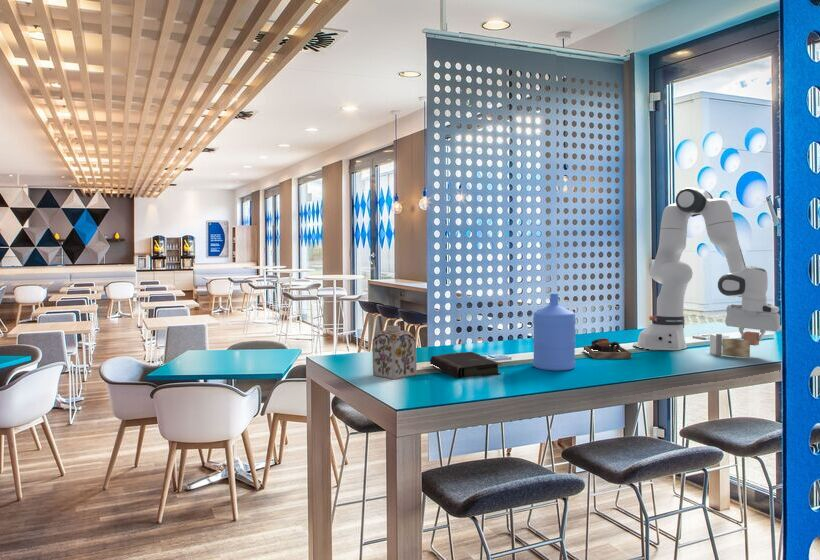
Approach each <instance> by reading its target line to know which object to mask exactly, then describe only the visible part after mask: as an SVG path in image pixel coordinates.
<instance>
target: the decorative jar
mask: <svg viewBox="0 0 820 560" xmlns="http://www.w3.org/2000/svg"><path fill="white" fill-rule="evenodd" d="M417 362H418V361H417V339H416V337H415V336H414V335H413V334H412V333H411V331H408V330H403V329H401V325H388V326H387V329H386V330H381V331H379V332H378V333H376V335H375V336H374V337H373V338H372V375H373V376H376V377H379V378H384V379H389V380H393V381H395V380H396V381H397V380H399V379H404V378H409V377H413V376H416V375H417V369H418V368H417Z"/></svg>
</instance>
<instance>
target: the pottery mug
mask: <svg viewBox="0 0 820 560" xmlns="http://www.w3.org/2000/svg"><path fill="white" fill-rule="evenodd" d="M590 346H591V348H592V349H593V350H598V351H600V352H617V351H618V350H619V349H620V346H621V345H620V343H619V342H618V341H611V342H610V340H609V339H608V338H603V337H602V338H598V339H594V340H592V341H591V345H590ZM614 346H617V347H616V349H614ZM591 348H590V349H591Z"/></svg>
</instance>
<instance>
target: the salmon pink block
mask: <svg viewBox="0 0 820 560" xmlns="http://www.w3.org/2000/svg"><path fill="white" fill-rule="evenodd" d="M743 332H744V339H743V340H750V346H755V347H756V346H759V345H760V341H757V336H760V334H761V333H760V331H759V332H756V331H743Z"/></svg>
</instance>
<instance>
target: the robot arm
mask: <svg viewBox="0 0 820 560" xmlns="http://www.w3.org/2000/svg"><path fill="white" fill-rule="evenodd" d="M732 211H733V210H732V209H731V206H730V204H729V202H728V201H727V200H726V199H725V198H713V195H712V194H711V193H710V192H708V191H707V190H704V189H702V188H697V187H696V188H695V187H686V188H683V189H681V190H680V191H678V193H677V195H676V196H675V203H672V204H669V205H667V206H665V207H664V209H663V211H662V216H661V221H660V230H659V241H658V242H659V243H658V248H657V252H656V255H655V258H654V261H653V263H652V265H651V266H650V268H649V275H650V277H651V279H653V281H655V282H657V283H659V284H662V285H661V288H660V292H659V294H658V296H657V297H656V314H655V315H654V316H652V315H649V316H648V319H649V321H651V322H652V323H651V324H650V325H649V326H646V328H644V329H643V330H642V331H640V333H639V335H638V340H637V342H633V343H632V346H633V345H635V346H638V347H641V348H645V349H644V350H646V349H649V350H653V351H682V350H685V349H687V344H686V340H685V331H684V330H685V323H686V322H685V316H684V301H685V300H684V299H685V294H686V290H687V287H688V284H689V283H690V281H691V280H692V278H693V269H692V267H691V266H690V265H689V264H688V263H686V262H684V261H682V260H680V259H681V256H682V255H683V252H684V251H685V249H686V246H687V235H688V223H689V219H690V218H694V217H697V216H702V217H703V220H704V224H705V228H706V233H707V236H708V238H709V241H710V242H711V244H713V245H714V246H716V247H717V248H718V249H719V250H721V251H722V252H723V254H724V255H725V258H726V262H727V267H728V269H729V273H726V274H723V275H722V276H720V277H719V279H718V281H717V288H718V291H719V292H720V293H721V294H722V295H723V296H727V297H738V298H741V304H729V305H727V307H726V311H725V312H726V316H725V321H724V322H725V325H726V326H727V327H732V328H738V331H739V333H740V340H744V332H745V331H744V330H745V329H747V330H749V329H750V330H759V333H760V335H759V336H757V341H759V342H762V341H763V337H764V335H765V334H766V331H769V332H776V333H777V332H780V331H781V329H780V317H781V314H780V313H779V311H780V307H779V306H776V305H773V304H771V303H768V302H767V291H768V285H769V283H768V282H769V281H768V279H769V277H768V272H767V271H766V269H764V268H762V267H759V266H753V265H748V266H746V262H745V260H744V256H743V253H742V252H743V251H742V249H741V245H740V242H739V237H738V233H737V228H736V223H735V218H734V213H733V212H732Z"/></svg>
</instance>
